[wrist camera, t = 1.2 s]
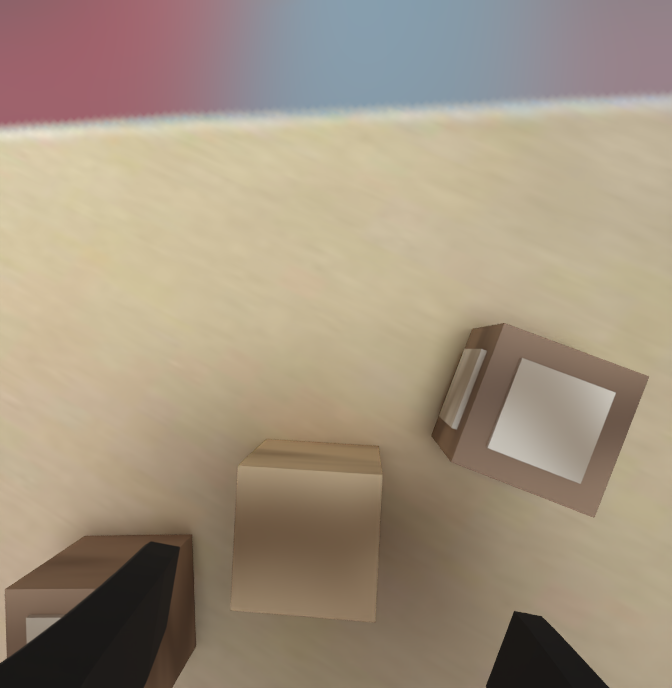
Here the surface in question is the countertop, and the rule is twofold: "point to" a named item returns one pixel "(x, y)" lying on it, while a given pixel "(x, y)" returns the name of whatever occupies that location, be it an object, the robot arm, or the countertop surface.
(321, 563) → the oak block
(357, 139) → the countertop surface
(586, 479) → the walnut block
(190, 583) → the walnut block
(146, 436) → the countertop surface
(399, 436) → the countertop surface
